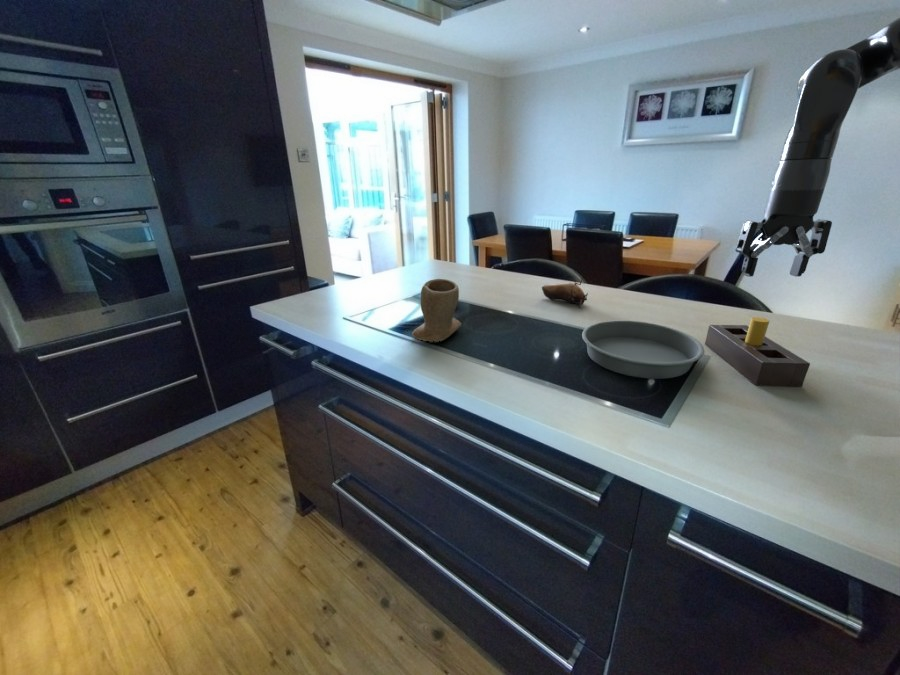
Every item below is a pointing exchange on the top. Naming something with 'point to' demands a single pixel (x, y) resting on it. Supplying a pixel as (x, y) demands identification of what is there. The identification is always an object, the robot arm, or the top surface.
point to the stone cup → (438, 310)
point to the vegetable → (565, 292)
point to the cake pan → (641, 349)
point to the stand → (757, 357)
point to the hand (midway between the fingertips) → (771, 275)
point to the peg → (757, 331)
